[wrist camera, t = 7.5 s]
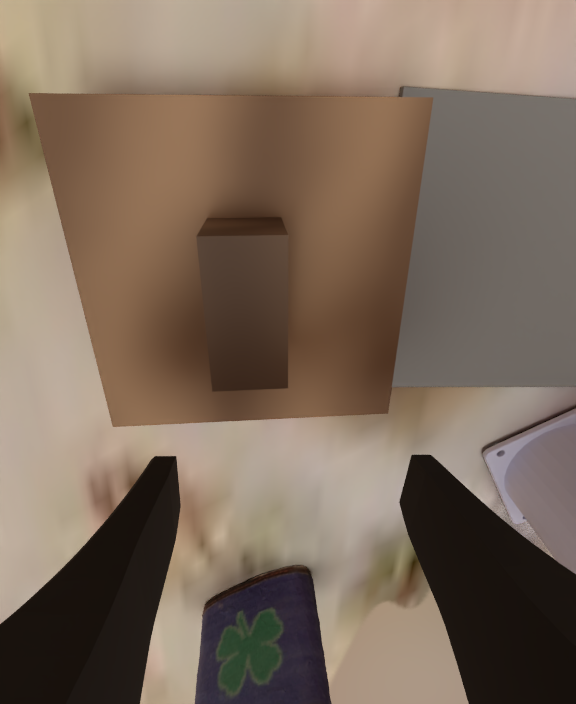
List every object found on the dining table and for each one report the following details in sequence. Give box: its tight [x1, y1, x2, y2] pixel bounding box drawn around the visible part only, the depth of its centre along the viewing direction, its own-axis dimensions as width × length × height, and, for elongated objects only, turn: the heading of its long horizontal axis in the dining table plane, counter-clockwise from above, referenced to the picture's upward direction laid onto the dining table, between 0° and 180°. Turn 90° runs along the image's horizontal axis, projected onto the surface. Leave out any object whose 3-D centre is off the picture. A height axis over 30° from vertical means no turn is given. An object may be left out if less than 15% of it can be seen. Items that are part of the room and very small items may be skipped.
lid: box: [29, 93, 433, 427], centre depth 14 cm, size 12×12×4 cm
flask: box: [195, 565, 331, 704], centre depth 26 cm, size 9×3×11 cm, turn 117°
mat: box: [392, 87, 576, 387], centre depth 20 cm, size 14×14×1 cm
